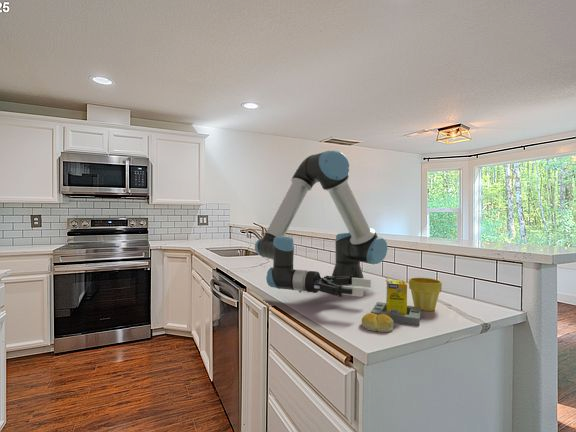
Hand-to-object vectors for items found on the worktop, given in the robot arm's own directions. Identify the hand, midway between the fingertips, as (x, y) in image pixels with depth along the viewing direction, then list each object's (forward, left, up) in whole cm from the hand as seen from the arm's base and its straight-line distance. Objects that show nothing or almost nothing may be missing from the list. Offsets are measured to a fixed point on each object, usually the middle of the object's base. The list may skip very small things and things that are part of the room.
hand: (367, 287), depth 105 cm
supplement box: (0, +9, -8) cm, 12 cm away
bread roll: (+13, +6, -8) cm, 16 cm away
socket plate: (0, +9, -8) cm, 12 cm away
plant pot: (-13, +17, -8) cm, 23 cm away
